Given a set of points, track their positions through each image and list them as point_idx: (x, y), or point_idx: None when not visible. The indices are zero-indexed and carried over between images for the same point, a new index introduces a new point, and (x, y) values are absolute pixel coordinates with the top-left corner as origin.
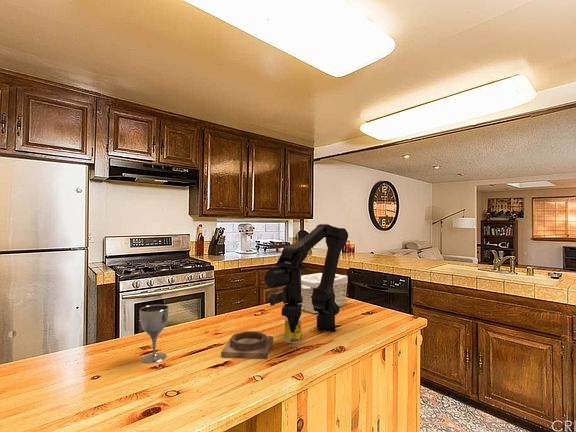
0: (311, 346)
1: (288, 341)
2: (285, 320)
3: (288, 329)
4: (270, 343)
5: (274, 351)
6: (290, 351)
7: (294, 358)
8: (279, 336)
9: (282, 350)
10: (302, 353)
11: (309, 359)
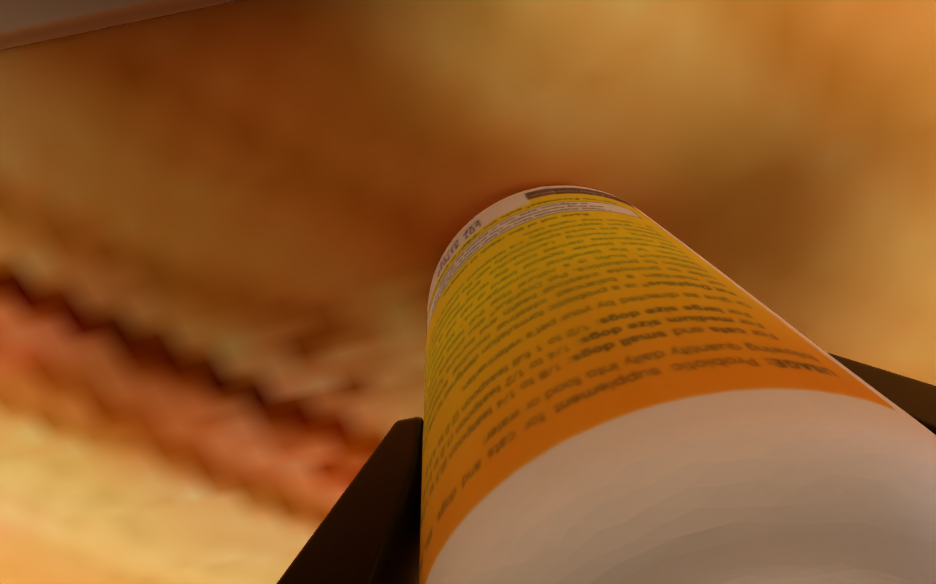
0: None
1: (435, 276)
2: (550, 436)
3: (430, 390)
4: (135, 6)
5: (67, 139)
6: (191, 354)
7: (27, 442)
8: (720, 21)
9: (167, 247)
10: (205, 483)
11: (100, 565)
